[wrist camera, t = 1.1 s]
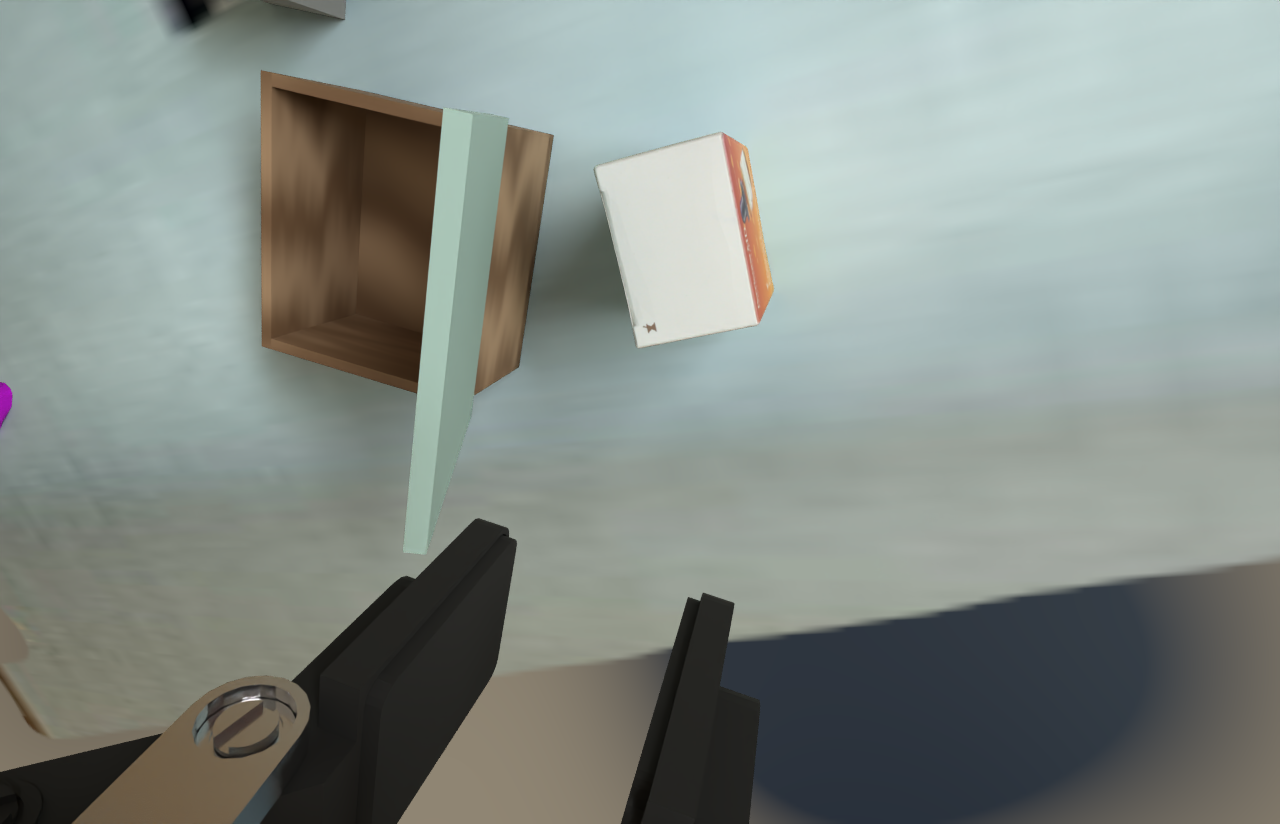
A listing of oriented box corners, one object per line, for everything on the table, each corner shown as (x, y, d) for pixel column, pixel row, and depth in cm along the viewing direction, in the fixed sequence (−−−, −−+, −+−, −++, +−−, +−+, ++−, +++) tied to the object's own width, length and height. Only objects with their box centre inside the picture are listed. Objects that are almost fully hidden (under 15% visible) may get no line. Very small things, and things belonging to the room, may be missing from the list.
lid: (443, 107, 18) (472, 114, 18) (490, 114, 30) (508, 118, 30) (402, 551, 24) (425, 554, 24) (455, 414, 35) (471, 416, 35)
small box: (775, 291, 37) (762, 331, 27) (679, 310, 39) (635, 354, 29) (748, 142, 35) (725, 127, 25) (648, 169, 37) (590, 165, 27)
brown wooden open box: (364, 91, 39) (260, 70, 32) (553, 135, 37) (490, 123, 30) (353, 318, 44) (261, 346, 37) (518, 366, 42) (457, 405, 35)
